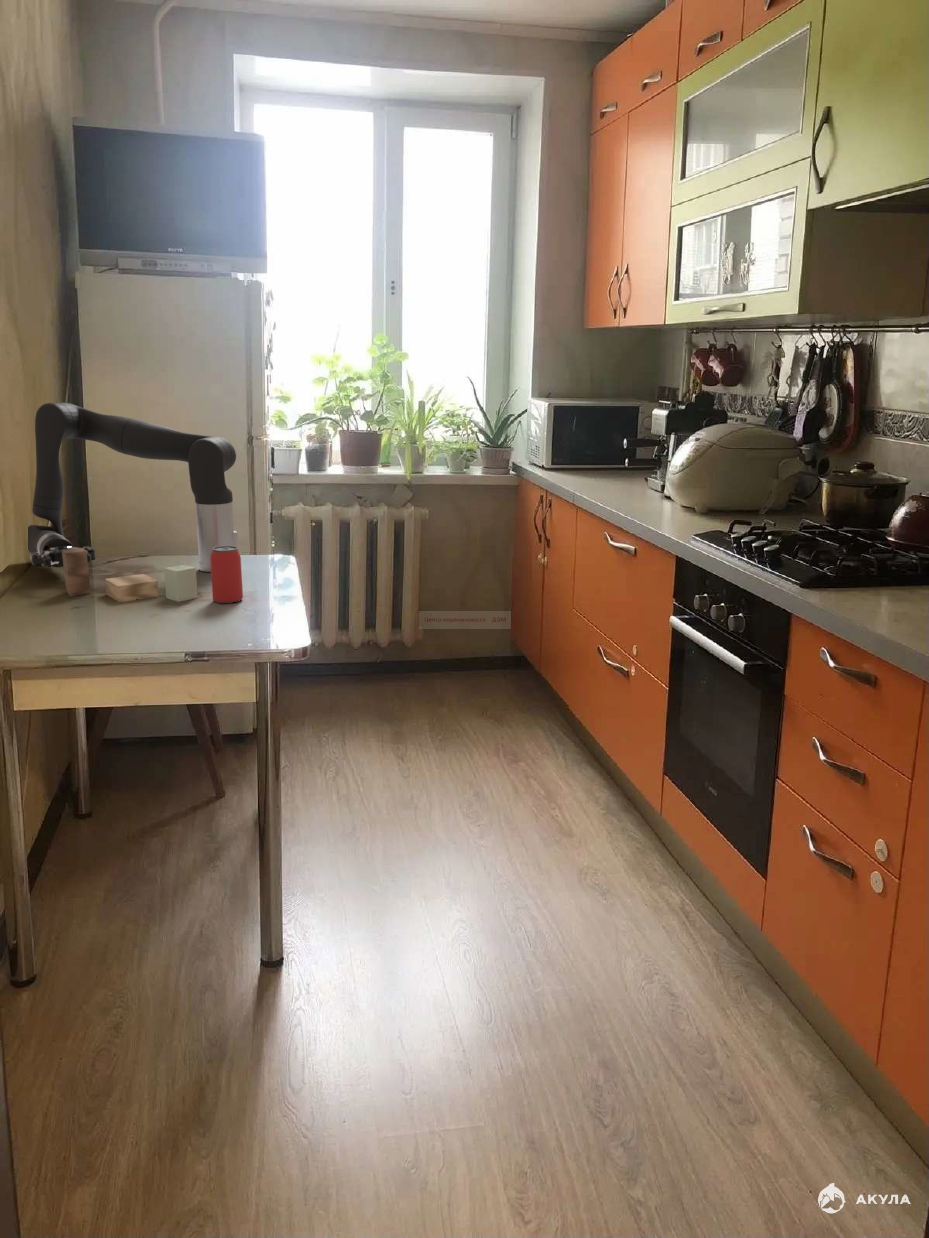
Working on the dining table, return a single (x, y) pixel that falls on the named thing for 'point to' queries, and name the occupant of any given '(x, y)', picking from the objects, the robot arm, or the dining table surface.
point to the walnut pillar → (76, 571)
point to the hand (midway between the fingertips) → (68, 561)
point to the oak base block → (131, 587)
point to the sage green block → (180, 582)
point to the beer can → (226, 574)
